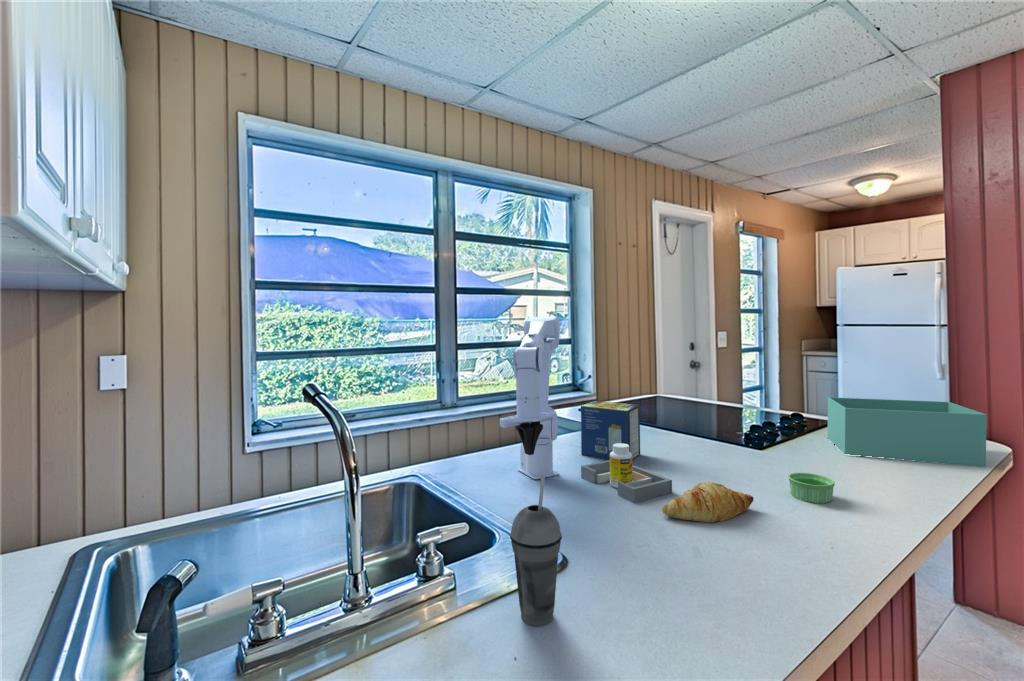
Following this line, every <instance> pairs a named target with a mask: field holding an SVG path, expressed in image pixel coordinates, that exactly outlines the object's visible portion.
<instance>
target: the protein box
mask: <svg viewBox="0 0 1024 681" xmlns="http://www.w3.org/2000/svg"><path fill="white" fill-rule="evenodd" d="M640 412H641V410H640V404H636V403H635V404H633V403H622V402H610V401H603V400H602V401H600V400H594V401H590V402H587V403H585V404H582V405H580V445H581V446H580V448H581V450H580V452H581V453H580V455H581V454H583V455H582V456H585V455H588V456H587V457H591V456H593V457H592V458H596V457H599V459H602V458H604V460H608V459H609V460H610V453H611V452H612V451H613V444H617V443H623V444H627V445H629V452H630V453H631V454H632V460H634V459H635V458H637V457H638V456H640V455H641V422H640V421H641V418H640V417H641V416H640V414H641V413H640Z"/></svg>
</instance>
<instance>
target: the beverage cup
mask: <svg viewBox="0 0 1024 681" xmlns="http://www.w3.org/2000/svg"><path fill="white" fill-rule="evenodd" d="M545 480H546V477H545V475H542V477H541V478H540V486H539V497H538V504H531V505H528V506H526V507H523V508H522V509H521V510H519V512H518V513H517V514H516V516H515V517H514V519H513V521H512V524H511V531H510V533H509V539H510V541H511V546H512V547H511V548H512V552H513V554H514V555H513V556H514V563H515V564H514V566H515V573H516V574H515V575H516V584H517V594H518V601H519V602H518V604H519V608H520V613H521V614H520V615H521V616H520V617H521V620H522V622H524V624H526V625H529V626H531V627H540V628H541V627H544V626H547V625H549V624H550V623H551V622H553V619H554V611H555V603H556V602H555V601H556V590H557V588H556V587H557V586H556V585H557V577H558V562H559V561H558V560H559V553H560V549H561V548H560V547H561V542H562V539H563V536H562V532H561V526H560V522H559V520H558V519H557V517H556V516H555V514H554V513H553V512H552V511H551V510H550V509H549V508H547V507H546V506H543V501H544V490H545V482H546V481H545Z"/></svg>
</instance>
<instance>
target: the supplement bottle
mask: <svg viewBox="0 0 1024 681" xmlns="http://www.w3.org/2000/svg"><path fill="white" fill-rule="evenodd" d="M632 465H633V459H632V454H631V453H630V452H629V445H627V444H623V443H617V444H613V451H612V452H611V453H610V481H609V484H610V486H611V487H613V488H616V489H618V482H623V483H628V482H632V481H633V479H632Z"/></svg>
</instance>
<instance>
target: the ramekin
mask: <svg viewBox="0 0 1024 681" xmlns="http://www.w3.org/2000/svg"><path fill="white" fill-rule="evenodd" d="M788 481H789V489H790V490H789V491H790V494H791V496H792V497H793V496H794V498H795V499H797V498H798V499H797V500H799V499H801V500H800V501H802V500H804V501H803V502H805V501H808V502H807V503H810V502H814V503H813V504H820V503H822V504H828V502H829V503H830V502H832V501H833V494H834V487H835V483H836V482H835V480H833V479H832V478H830V477H828V476H825V475H823V474H822V475H821V474H817V473H810V472H792V473H790V474H788Z"/></svg>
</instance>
